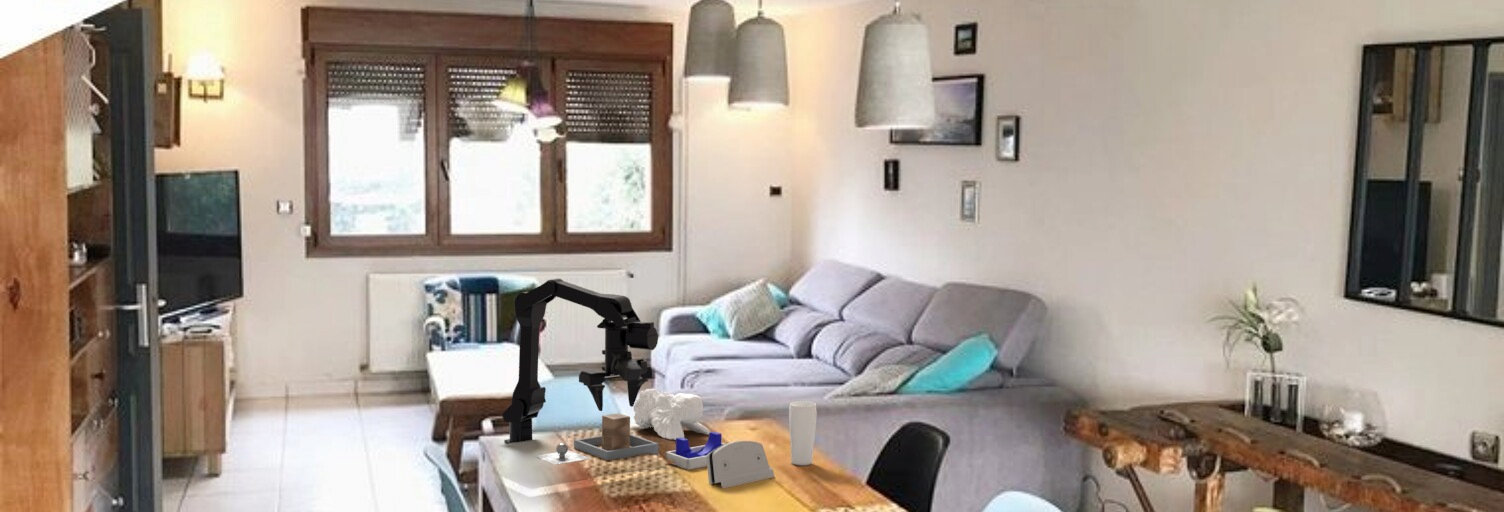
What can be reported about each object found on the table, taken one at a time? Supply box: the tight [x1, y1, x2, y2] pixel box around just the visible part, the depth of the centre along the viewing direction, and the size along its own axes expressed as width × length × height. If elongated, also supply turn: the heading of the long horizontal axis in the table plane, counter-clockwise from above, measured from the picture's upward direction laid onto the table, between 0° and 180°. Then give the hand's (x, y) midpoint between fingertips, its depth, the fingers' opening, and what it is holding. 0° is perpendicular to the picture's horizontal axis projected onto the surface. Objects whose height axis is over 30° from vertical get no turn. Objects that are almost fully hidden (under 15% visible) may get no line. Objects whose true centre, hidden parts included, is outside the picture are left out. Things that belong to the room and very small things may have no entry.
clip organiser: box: [665, 442, 725, 471], centre depth 319 cm, size 9×17×2 cm, turn 129°
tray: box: [573, 433, 659, 461], centre depth 323 cm, size 15×15×4 cm
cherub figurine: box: [633, 388, 711, 441], centre depth 348 cm, size 13×12×20 cm
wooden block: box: [601, 412, 631, 451], centre depth 323 cm, size 5×5×9 cm
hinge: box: [706, 440, 775, 489], centre depth 303 cm, size 17×5×10 cm, turn 132°
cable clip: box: [675, 431, 722, 459], centre depth 320 cm, size 12×4×6 cm, turn 130°
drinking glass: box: [788, 400, 818, 467], centre depth 318 cm, size 7×7×15 cm
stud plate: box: [533, 442, 591, 465], centre depth 314 cm, size 10×10×5 cm
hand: (616, 408), depth 322 cm, fingers open, 9 cm apart
